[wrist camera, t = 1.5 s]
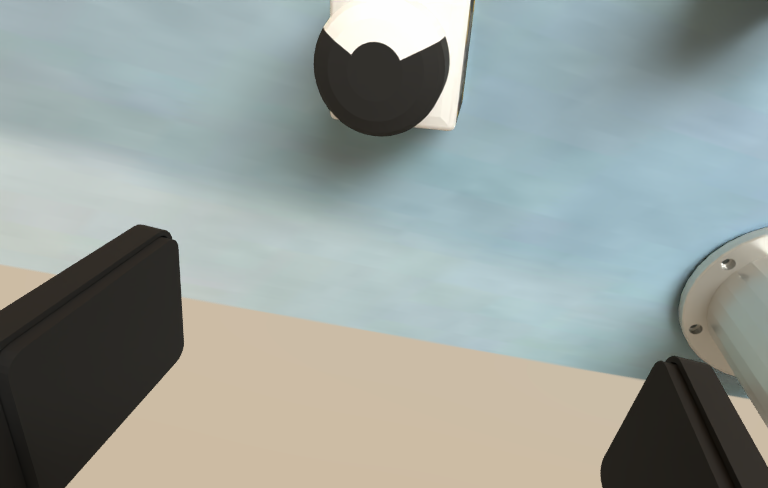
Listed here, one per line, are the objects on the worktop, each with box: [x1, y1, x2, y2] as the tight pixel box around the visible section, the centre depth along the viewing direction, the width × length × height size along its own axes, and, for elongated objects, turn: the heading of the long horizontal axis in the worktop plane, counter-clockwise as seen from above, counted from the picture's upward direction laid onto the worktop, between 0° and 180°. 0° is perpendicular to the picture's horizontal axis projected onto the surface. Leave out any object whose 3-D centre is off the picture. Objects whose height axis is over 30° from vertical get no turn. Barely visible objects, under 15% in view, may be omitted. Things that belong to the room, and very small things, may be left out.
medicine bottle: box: [314, 0, 475, 136], centre depth 27 cm, size 7×7×12 cm
